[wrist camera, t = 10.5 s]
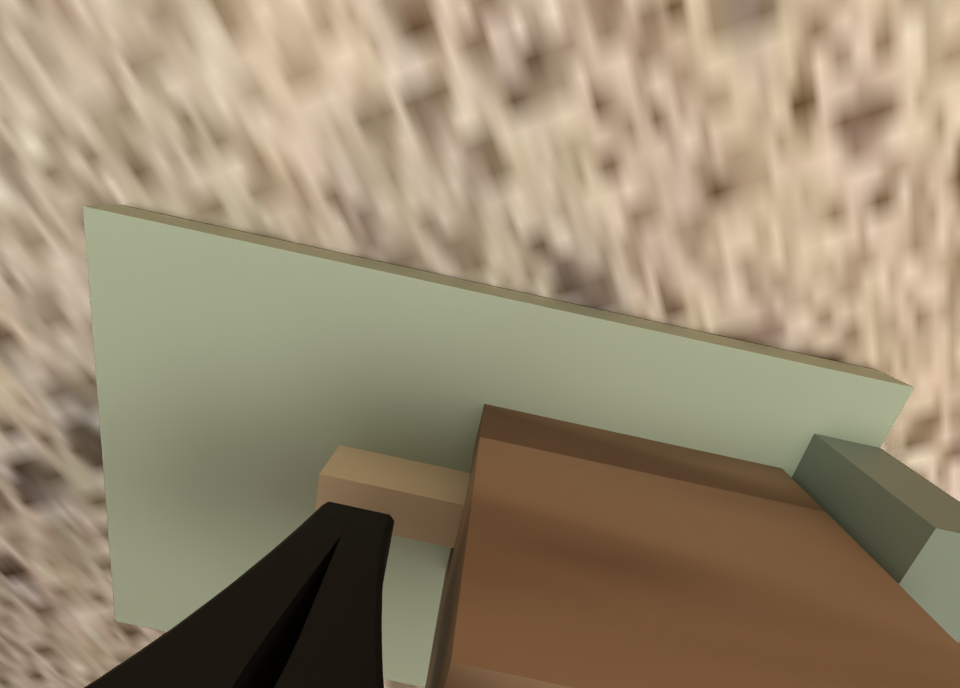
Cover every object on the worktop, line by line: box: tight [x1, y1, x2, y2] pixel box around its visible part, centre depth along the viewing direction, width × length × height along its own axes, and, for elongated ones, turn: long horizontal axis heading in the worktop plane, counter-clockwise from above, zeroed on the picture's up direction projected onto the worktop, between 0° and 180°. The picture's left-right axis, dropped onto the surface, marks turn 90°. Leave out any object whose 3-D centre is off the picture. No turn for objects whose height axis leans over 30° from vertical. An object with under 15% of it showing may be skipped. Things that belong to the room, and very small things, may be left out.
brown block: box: [425, 404, 960, 688], centre depth 8 cm, size 5×7×6 cm
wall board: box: [83, 205, 960, 688], centre depth 10 cm, size 12×18×4 cm, turn 78°
